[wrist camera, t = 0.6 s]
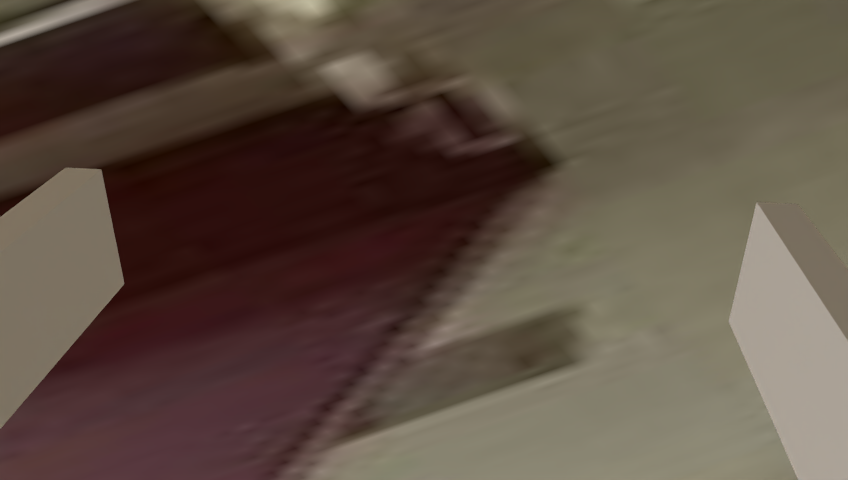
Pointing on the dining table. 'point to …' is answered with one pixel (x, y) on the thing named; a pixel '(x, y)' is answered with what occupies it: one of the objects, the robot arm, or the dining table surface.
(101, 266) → the robot arm
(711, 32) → the dining table surface
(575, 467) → the dining table surface
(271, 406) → the dining table surface
